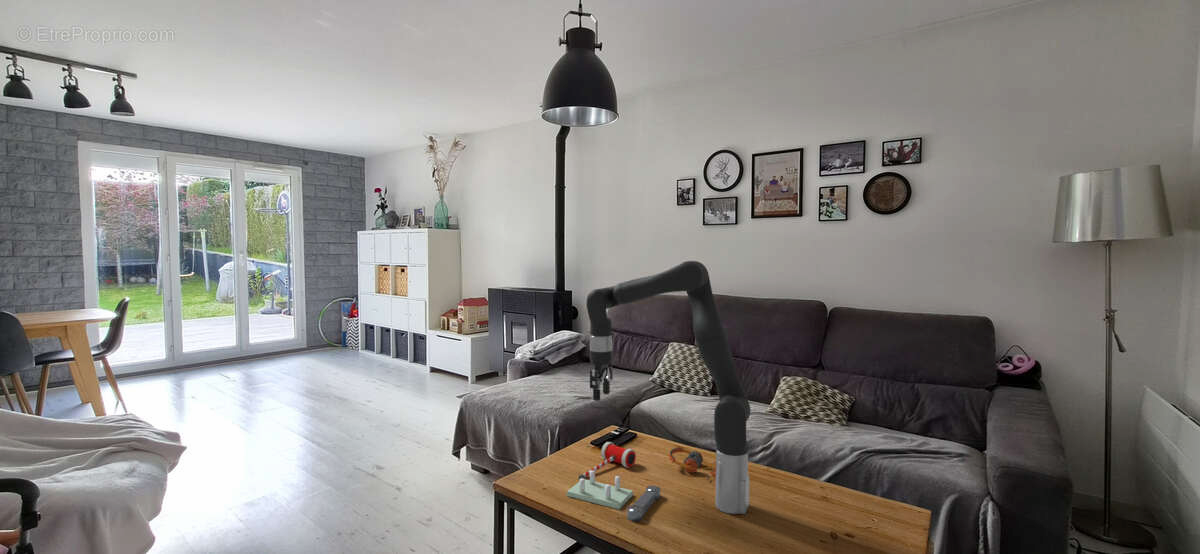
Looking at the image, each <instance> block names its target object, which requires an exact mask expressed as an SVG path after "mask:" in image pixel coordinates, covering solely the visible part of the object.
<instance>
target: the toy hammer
mask: <svg viewBox="0 0 1200 554" xmlns="http://www.w3.org/2000/svg"><path fill="white" fill-rule="evenodd" d="M600 456H601V458H602V459H603V460H604V461H601V462H600V463H599V464H597V465H596V466H594V467H593V468H591V469H589V470H588V471H586V472H584V473H582V474H579V475H578V480H579V481H580V479H581V478H583V479H587V477H590V471H591V470H593V471H595V472H597V471H599V470H600V469H601V468H604V467H605V466H606V465H608V464H609V463H611V462H615V463H618V464H620V465H621V466H623V467H624V468H627V469H628V468H631V467H632V466H634V465H635V463H636V461H637V459H636V458H637V453H636V451H635V449H633V448H624V447H621V446H618V445H615V443H614V442H611V441H606V442H605V443H604V444H603V445H602V448H601V451H600Z"/></svg>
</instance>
